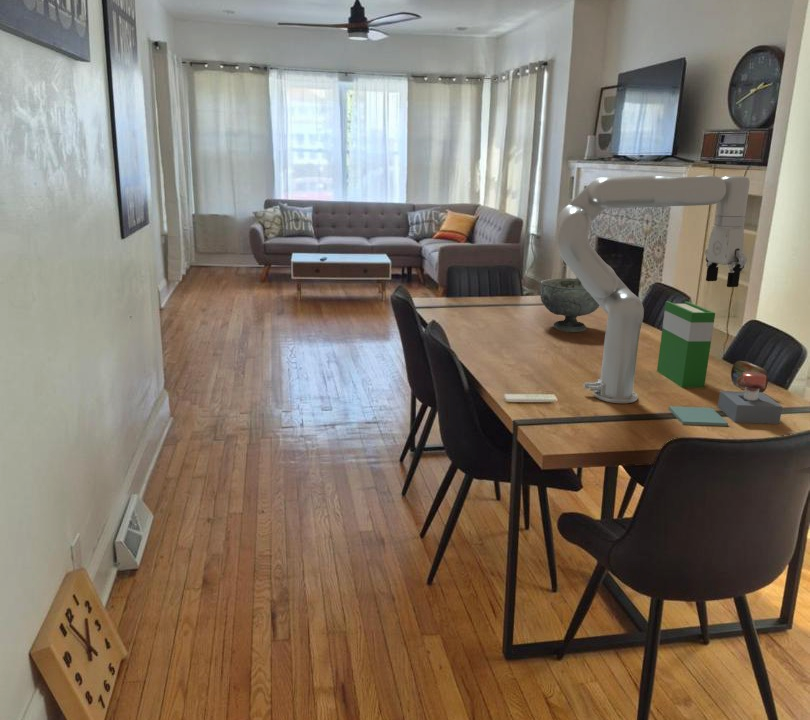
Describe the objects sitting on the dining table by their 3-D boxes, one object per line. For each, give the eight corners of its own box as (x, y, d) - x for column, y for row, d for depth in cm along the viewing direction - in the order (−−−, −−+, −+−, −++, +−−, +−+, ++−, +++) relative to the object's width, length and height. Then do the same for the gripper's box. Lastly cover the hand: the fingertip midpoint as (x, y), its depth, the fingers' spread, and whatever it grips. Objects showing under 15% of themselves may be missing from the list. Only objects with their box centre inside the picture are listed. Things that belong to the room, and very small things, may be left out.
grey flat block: (734, 422, 192) (737, 405, 191) (717, 407, 203) (720, 390, 202) (779, 423, 192) (782, 406, 190) (759, 408, 203) (762, 392, 202)
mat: (682, 424, 190) (683, 421, 189) (668, 408, 201) (669, 406, 201) (727, 425, 189) (728, 423, 189) (711, 410, 201) (711, 407, 200)
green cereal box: (656, 371, 238) (665, 301, 231) (677, 370, 238) (687, 301, 232) (681, 387, 221) (692, 312, 214) (704, 387, 221) (715, 312, 215)
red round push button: (741, 418, 195) (748, 377, 191) (732, 411, 200) (738, 371, 197) (763, 419, 195) (770, 378, 191) (753, 412, 200) (760, 371, 197)
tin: (728, 382, 227) (732, 357, 225) (737, 382, 228) (741, 357, 225) (757, 397, 213) (762, 371, 210) (767, 397, 213) (771, 371, 211)
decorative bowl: (608, 336, 281) (612, 286, 276) (544, 335, 281) (547, 286, 277) (593, 323, 307) (596, 277, 302) (534, 323, 307) (536, 277, 302)
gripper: (698, 219, 201) (692, 279, 206) (736, 225, 184) (728, 289, 189) (722, 219, 202) (715, 278, 207) (762, 224, 186) (753, 288, 191)
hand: (721, 283), depth 198 cm, fingers open, 9 cm apart
